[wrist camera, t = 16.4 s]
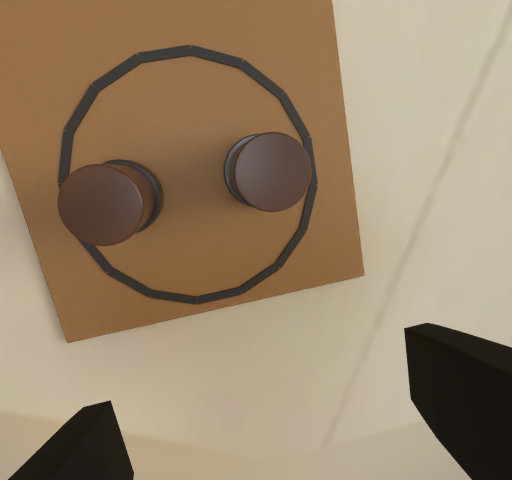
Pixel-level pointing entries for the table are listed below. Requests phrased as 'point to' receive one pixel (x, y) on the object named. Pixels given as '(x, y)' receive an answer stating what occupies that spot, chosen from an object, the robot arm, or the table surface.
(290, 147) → the cylinder
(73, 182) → the cylinder
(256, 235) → the sheet
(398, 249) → the table surface
